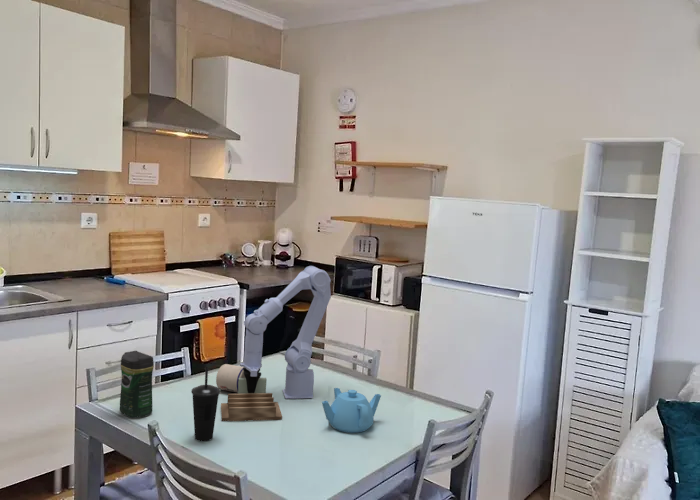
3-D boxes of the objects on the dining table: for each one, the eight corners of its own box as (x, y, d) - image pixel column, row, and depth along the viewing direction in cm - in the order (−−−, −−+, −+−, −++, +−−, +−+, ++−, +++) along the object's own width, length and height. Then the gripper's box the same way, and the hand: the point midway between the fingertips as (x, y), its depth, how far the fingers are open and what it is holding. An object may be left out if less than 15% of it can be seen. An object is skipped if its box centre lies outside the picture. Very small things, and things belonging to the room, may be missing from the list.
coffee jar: (156, 414, 180) (158, 354, 177) (133, 421, 173) (134, 359, 171) (138, 405, 185) (140, 347, 183) (115, 411, 179) (116, 351, 177)
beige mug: (213, 391, 200) (243, 396, 196) (217, 363, 201) (247, 368, 196) (232, 388, 211) (261, 393, 207) (235, 362, 212) (264, 367, 208)
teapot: (317, 429, 176) (319, 394, 175) (333, 412, 191) (335, 379, 189) (366, 439, 172) (369, 403, 171) (379, 420, 186) (382, 387, 185)
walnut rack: (277, 404, 193) (278, 392, 193) (282, 419, 182) (282, 407, 181) (220, 406, 189) (221, 393, 189) (221, 421, 177) (222, 408, 177)
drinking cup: (223, 435, 168) (226, 366, 166) (208, 445, 161) (211, 373, 159) (199, 429, 170) (202, 361, 168) (184, 440, 163) (186, 369, 161)
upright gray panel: (265, 397, 199) (266, 377, 198) (265, 399, 197) (266, 379, 197) (237, 398, 197) (238, 377, 196) (237, 400, 195) (238, 379, 195)
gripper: (239, 344, 201) (237, 383, 203) (242, 357, 187) (239, 398, 189) (260, 344, 203) (258, 383, 204) (264, 357, 189) (261, 398, 190)
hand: (250, 391), depth 197 cm, fingers open, 3 cm apart
